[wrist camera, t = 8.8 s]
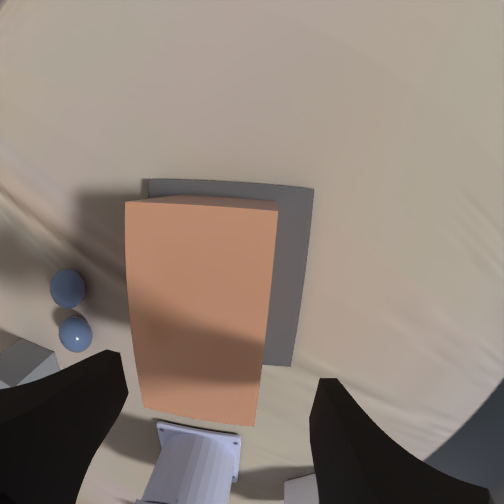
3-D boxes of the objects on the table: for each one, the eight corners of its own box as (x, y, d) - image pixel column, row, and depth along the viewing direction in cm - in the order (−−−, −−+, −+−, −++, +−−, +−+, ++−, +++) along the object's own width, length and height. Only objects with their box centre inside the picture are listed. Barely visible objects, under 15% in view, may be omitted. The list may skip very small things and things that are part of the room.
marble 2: (101, 345, 21) (83, 363, 18) (75, 337, 21) (56, 353, 18) (95, 314, 20) (75, 330, 17) (69, 307, 20) (48, 321, 17)
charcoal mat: (290, 360, 19) (290, 366, 19) (157, 343, 20) (153, 348, 19) (312, 188, 17) (314, 188, 16) (154, 179, 17) (149, 179, 16)
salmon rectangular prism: (260, 352, 18) (254, 426, 12) (181, 341, 19) (143, 406, 12) (275, 201, 16) (277, 211, 9) (181, 194, 16) (125, 201, 10)
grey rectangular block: (67, 393, 23) (35, 430, 16) (35, 377, 23) (2, 409, 16) (54, 351, 22) (13, 388, 15) (21, 338, 22) (-18, 367, 15)
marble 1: (94, 302, 20) (73, 318, 17) (67, 296, 20) (46, 310, 17) (90, 266, 19) (67, 278, 16) (63, 262, 19) (39, 272, 16)
